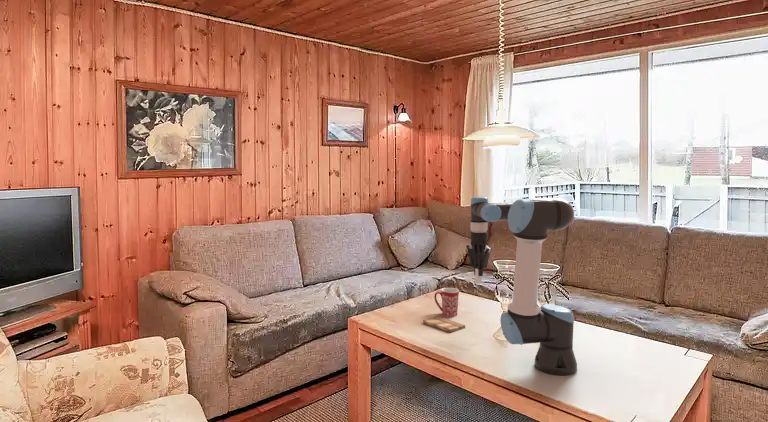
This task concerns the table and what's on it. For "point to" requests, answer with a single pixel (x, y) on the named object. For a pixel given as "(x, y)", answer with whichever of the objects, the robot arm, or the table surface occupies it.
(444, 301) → the mug
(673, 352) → the table surface
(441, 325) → the plank
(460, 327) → the floor panel
